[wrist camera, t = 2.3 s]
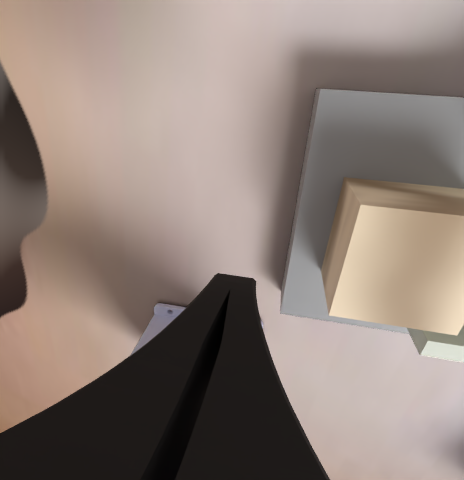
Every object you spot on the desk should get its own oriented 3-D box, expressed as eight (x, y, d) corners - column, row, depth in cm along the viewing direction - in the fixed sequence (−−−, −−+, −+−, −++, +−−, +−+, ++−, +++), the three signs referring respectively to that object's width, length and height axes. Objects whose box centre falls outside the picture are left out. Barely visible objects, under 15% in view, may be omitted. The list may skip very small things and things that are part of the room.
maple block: (321, 270, 18) (328, 315, 14) (344, 177, 15) (360, 204, 12) (423, 285, 17) (457, 335, 14) (468, 189, 14) (525, 222, 11)
